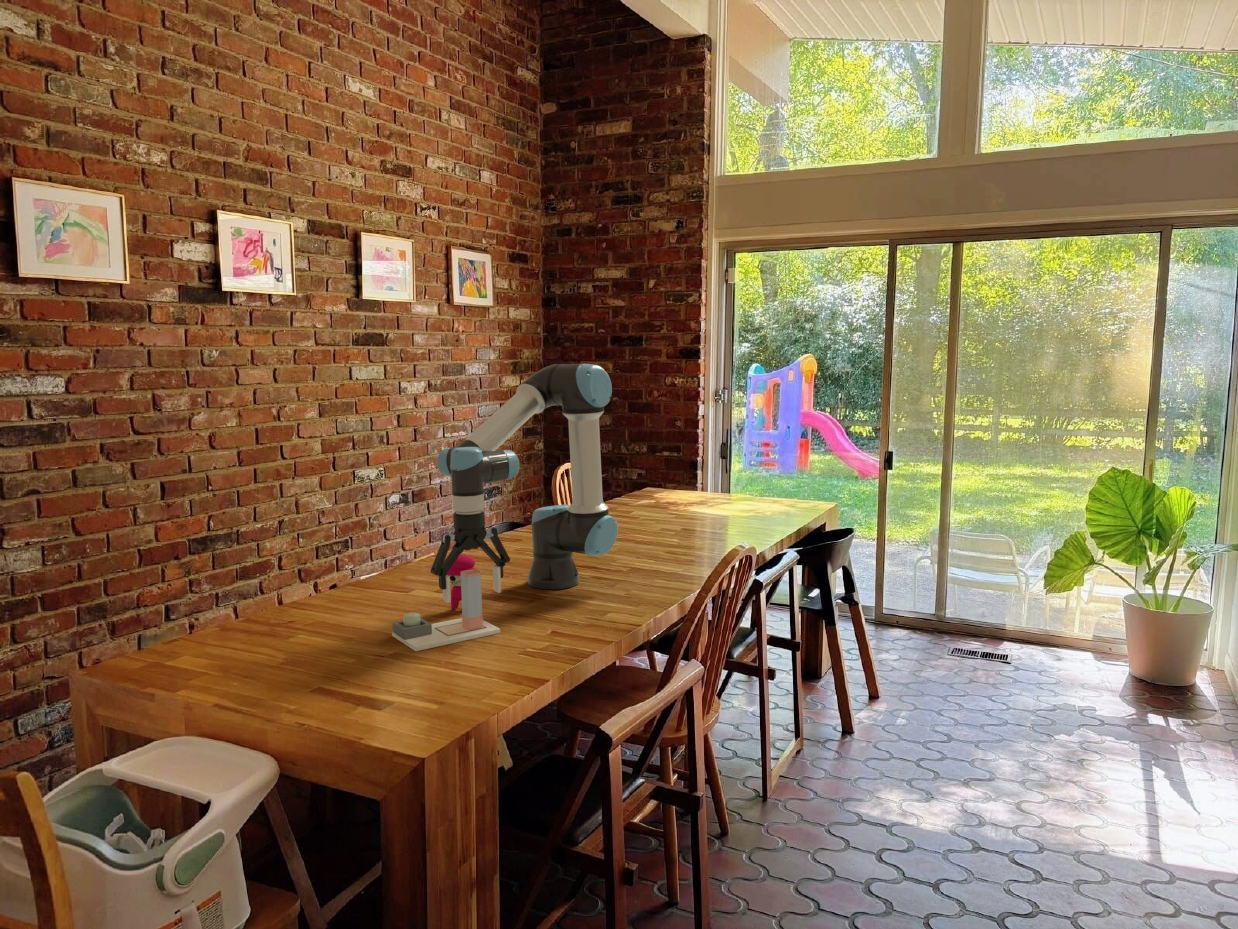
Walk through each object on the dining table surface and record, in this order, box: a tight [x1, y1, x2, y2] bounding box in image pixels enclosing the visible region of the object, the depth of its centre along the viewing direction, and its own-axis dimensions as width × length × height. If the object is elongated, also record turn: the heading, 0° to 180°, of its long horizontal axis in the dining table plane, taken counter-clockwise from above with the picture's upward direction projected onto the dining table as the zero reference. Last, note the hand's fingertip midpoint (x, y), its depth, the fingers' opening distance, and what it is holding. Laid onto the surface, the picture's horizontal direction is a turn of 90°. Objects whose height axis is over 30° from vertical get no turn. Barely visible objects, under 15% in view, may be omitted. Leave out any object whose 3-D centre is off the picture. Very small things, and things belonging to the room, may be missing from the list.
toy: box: [444, 553, 476, 610], centre depth 234 cm, size 8×8×15 cm
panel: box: [391, 617, 501, 652], centre depth 214 cm, size 22×14×4 cm, turn 126°
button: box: [402, 612, 421, 628], centre depth 212 cm, size 4×4×3 cm
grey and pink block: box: [460, 568, 484, 631], centre depth 215 cm, size 4×4×14 cm
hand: (472, 596), depth 216 cm, fingers open, 13 cm apart
